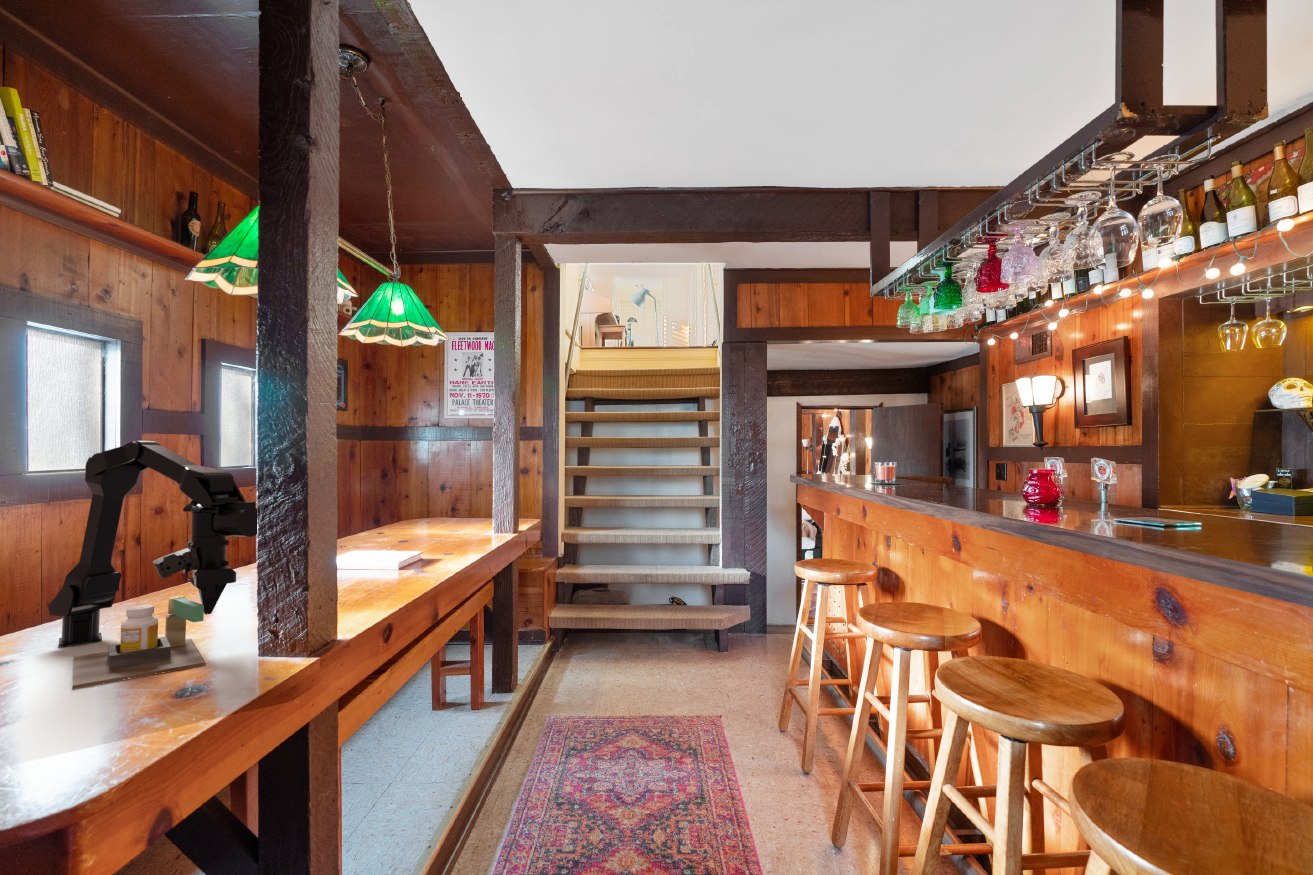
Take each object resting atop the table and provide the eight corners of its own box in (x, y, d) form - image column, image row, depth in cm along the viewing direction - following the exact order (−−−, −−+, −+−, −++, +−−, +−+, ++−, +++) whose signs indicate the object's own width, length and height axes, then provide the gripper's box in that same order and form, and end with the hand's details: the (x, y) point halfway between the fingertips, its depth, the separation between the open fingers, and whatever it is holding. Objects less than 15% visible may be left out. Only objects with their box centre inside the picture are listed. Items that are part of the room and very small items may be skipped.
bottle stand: (73, 659, 117) (74, 624, 117) (191, 641, 129) (192, 609, 130) (72, 689, 103) (73, 648, 103) (205, 665, 115) (206, 629, 115)
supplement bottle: (151, 652, 120) (153, 602, 120) (161, 658, 117) (163, 606, 117) (115, 660, 115) (117, 607, 116) (124, 665, 112) (126, 611, 113)
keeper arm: (166, 612, 125) (166, 597, 125) (181, 610, 127) (182, 595, 127) (190, 623, 118) (191, 607, 118) (206, 620, 120) (206, 604, 120)
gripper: (151, 533, 123) (150, 611, 123) (162, 545, 110) (161, 633, 110) (219, 528, 131) (218, 602, 131) (237, 538, 118) (236, 621, 117)
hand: (207, 613), depth 122 cm, fingers closed
